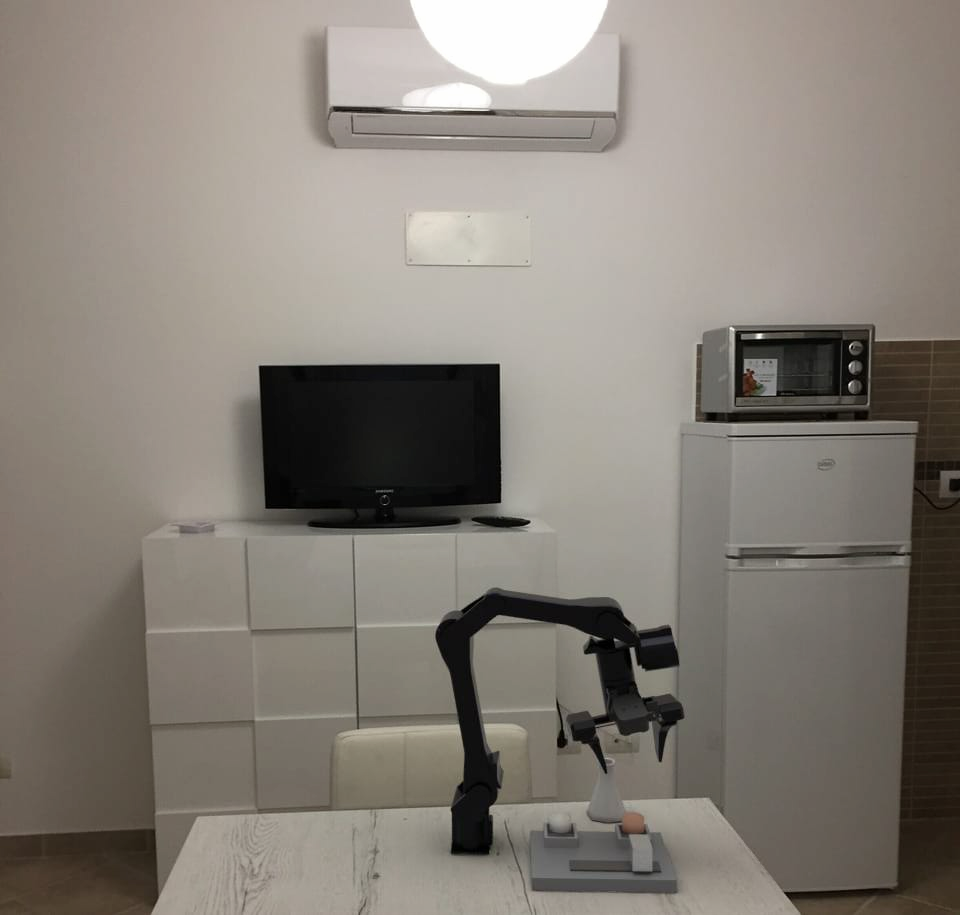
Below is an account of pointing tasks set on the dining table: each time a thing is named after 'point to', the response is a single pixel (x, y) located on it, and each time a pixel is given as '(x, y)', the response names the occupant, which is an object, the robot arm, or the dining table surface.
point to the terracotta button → (633, 823)
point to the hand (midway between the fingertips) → (632, 767)
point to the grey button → (560, 822)
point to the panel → (596, 862)
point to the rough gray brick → (640, 852)
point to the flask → (606, 797)
